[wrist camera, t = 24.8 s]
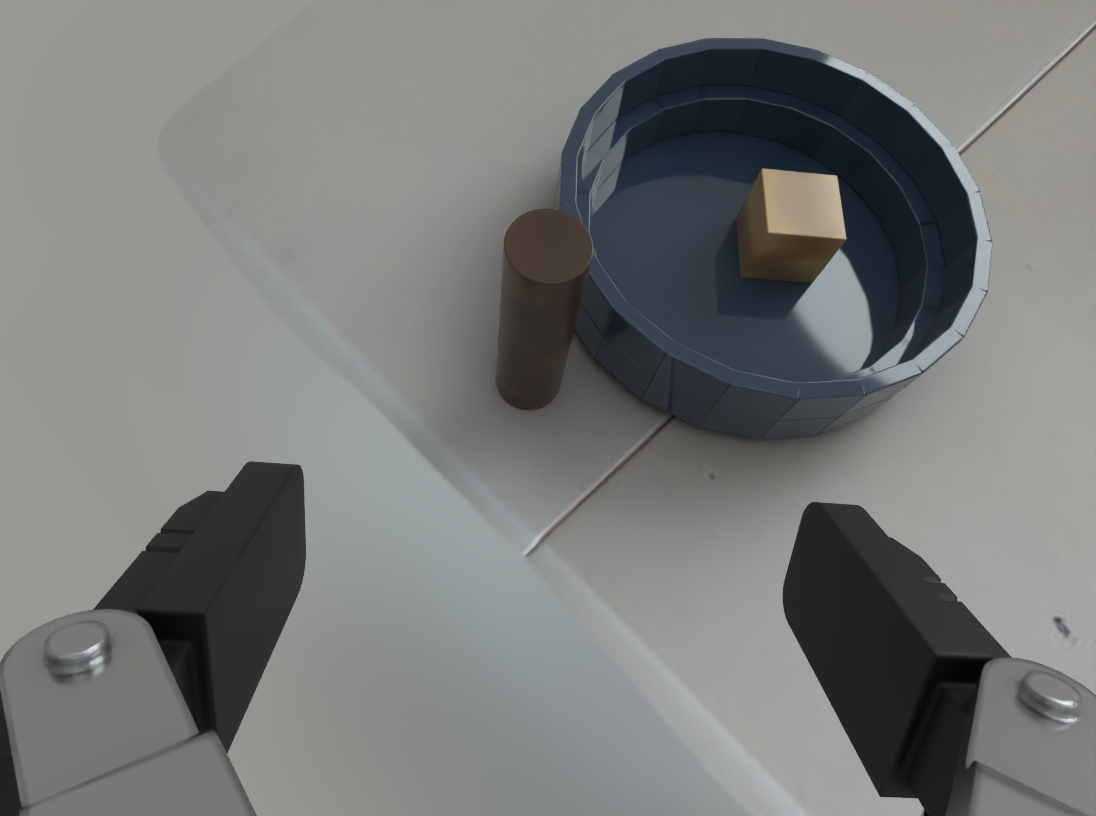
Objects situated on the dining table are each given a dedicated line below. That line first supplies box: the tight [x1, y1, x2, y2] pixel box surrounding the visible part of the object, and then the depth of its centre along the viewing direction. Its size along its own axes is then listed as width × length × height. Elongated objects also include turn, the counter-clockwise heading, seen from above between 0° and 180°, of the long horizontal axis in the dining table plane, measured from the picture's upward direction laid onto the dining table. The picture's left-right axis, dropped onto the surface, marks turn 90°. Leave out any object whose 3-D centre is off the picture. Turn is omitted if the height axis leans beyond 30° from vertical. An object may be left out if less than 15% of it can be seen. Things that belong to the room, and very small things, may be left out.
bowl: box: [553, 38, 992, 439], centre depth 33 cm, size 18×19×5 cm
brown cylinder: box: [496, 209, 594, 410], centre depth 27 cm, size 3×3×10 cm
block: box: [736, 168, 846, 283], centre depth 33 cm, size 4×4×4 cm
